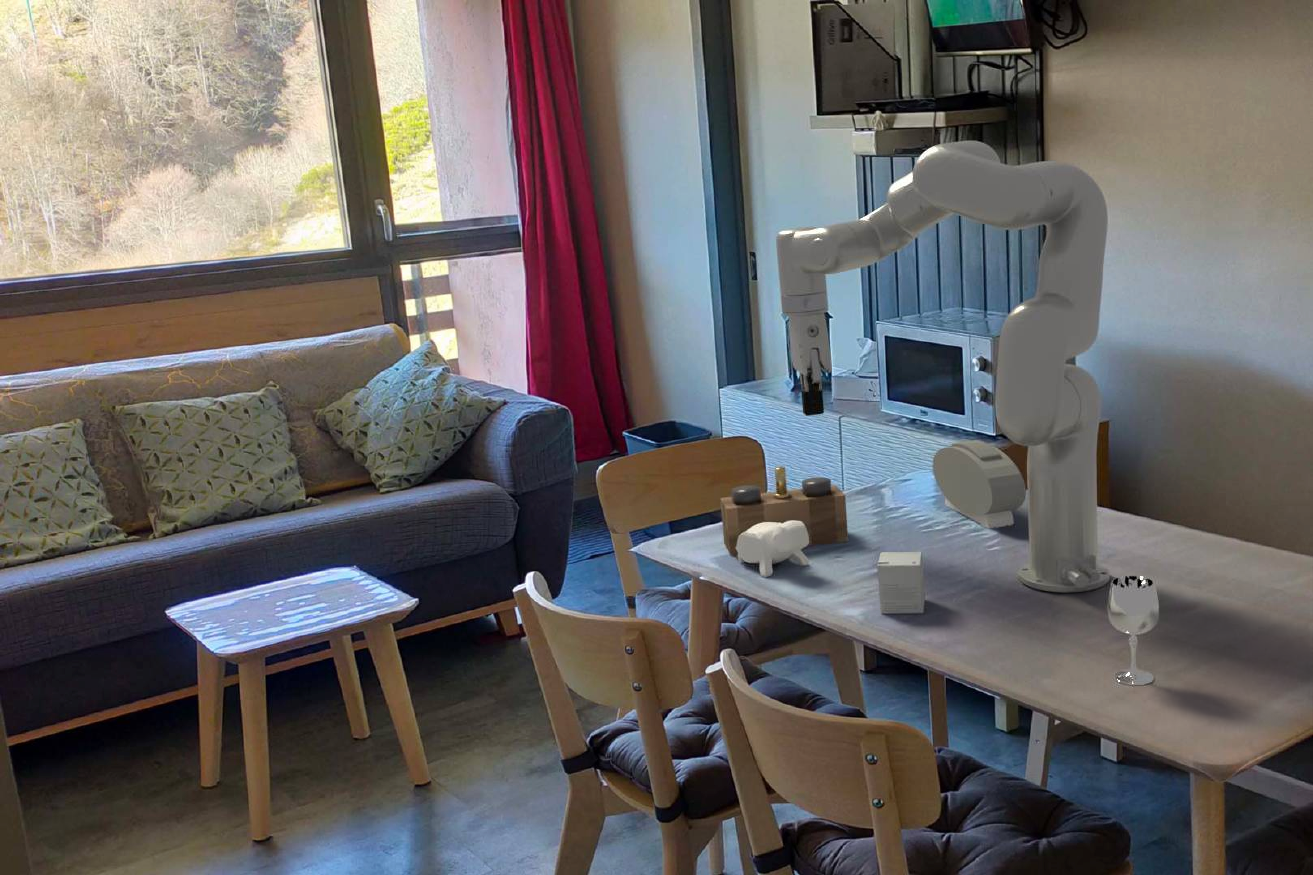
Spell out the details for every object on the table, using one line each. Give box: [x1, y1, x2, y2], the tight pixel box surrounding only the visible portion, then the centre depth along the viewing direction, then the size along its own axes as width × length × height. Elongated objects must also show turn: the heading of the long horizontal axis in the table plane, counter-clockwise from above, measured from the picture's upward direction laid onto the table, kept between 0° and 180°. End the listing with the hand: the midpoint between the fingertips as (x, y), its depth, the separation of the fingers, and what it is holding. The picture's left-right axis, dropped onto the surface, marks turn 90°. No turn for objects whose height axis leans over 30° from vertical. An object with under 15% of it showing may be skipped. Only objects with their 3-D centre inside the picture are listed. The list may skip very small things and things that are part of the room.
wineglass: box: [1106, 575, 1160, 686], centre depth 151 cm, size 6×6×12 cm
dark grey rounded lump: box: [731, 485, 762, 505], centre depth 215 cm, size 5×5×9 cm
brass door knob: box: [773, 466, 791, 499], centre depth 214 cm, size 3×3×5 cm
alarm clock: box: [932, 439, 1027, 530], centre depth 221 cm, size 23×6×13 cm, turn 12°
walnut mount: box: [719, 484, 849, 556], centre depth 216 cm, size 7×20×8 cm, turn 95°
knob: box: [801, 476, 832, 497], centre depth 216 cm, size 5×5×9 cm
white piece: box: [735, 520, 810, 578], centre depth 203 cm, size 9×8×15 cm
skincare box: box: [876, 551, 926, 615], centre depth 182 cm, size 6×6×7 cm
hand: (813, 413), depth 212 cm, fingers closed
